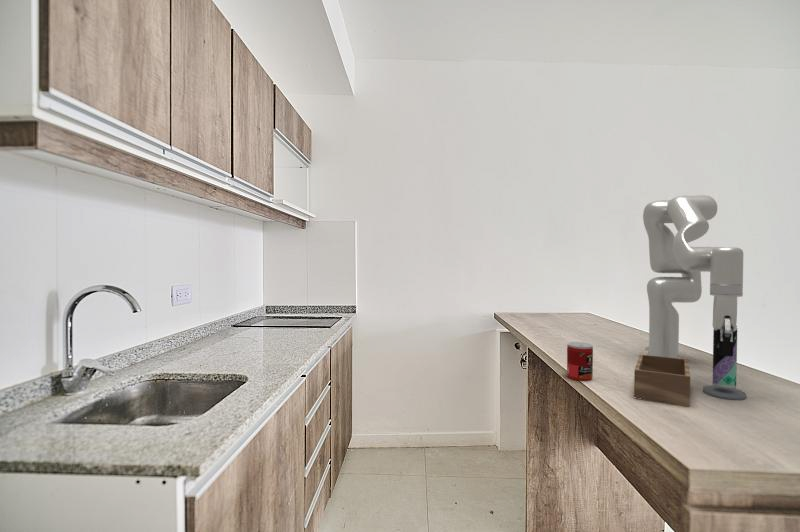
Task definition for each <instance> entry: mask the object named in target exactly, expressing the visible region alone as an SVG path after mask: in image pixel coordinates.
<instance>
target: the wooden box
mask: <svg viewBox="0 0 800 532" xmlns="http://www.w3.org/2000/svg"><path fill="white" fill-rule="evenodd" d="M689 365H690V364H689V359H687V358H682V359H679V358H670V357H660V356H651V355H647V354H639V356H638V359H637V361H636V365H635V367H634V375H633V376H634V378H633V379H634V380H633V381H634V382H633V387H634V389H633V398H634V397H636V398H641V399H640V400H642V399H646V400H645V401H649V400H651V401H650V402H655V401H657V402H656V403H662V404H668V403H669V404H668V405H676V406H682V407H689V408H690V407H691V404H690V403H691V401H690V400H691V372H690V366H689ZM636 398H635V399H636Z"/></svg>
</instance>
